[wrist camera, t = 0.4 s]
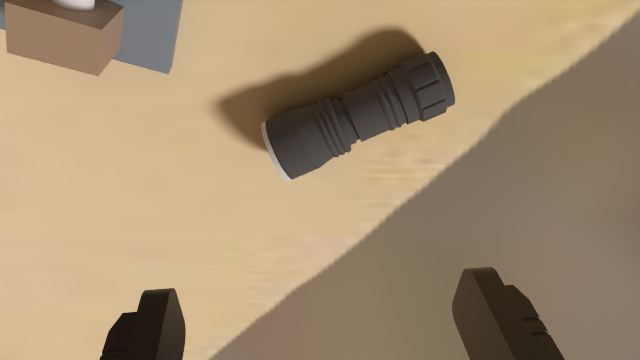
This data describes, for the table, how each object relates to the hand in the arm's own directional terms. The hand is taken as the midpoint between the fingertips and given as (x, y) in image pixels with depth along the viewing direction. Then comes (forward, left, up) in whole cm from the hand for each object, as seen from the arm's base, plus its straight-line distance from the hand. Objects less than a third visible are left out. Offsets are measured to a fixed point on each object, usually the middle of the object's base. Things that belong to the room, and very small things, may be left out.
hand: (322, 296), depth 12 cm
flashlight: (+5, +8, -26) cm, 28 cm away
